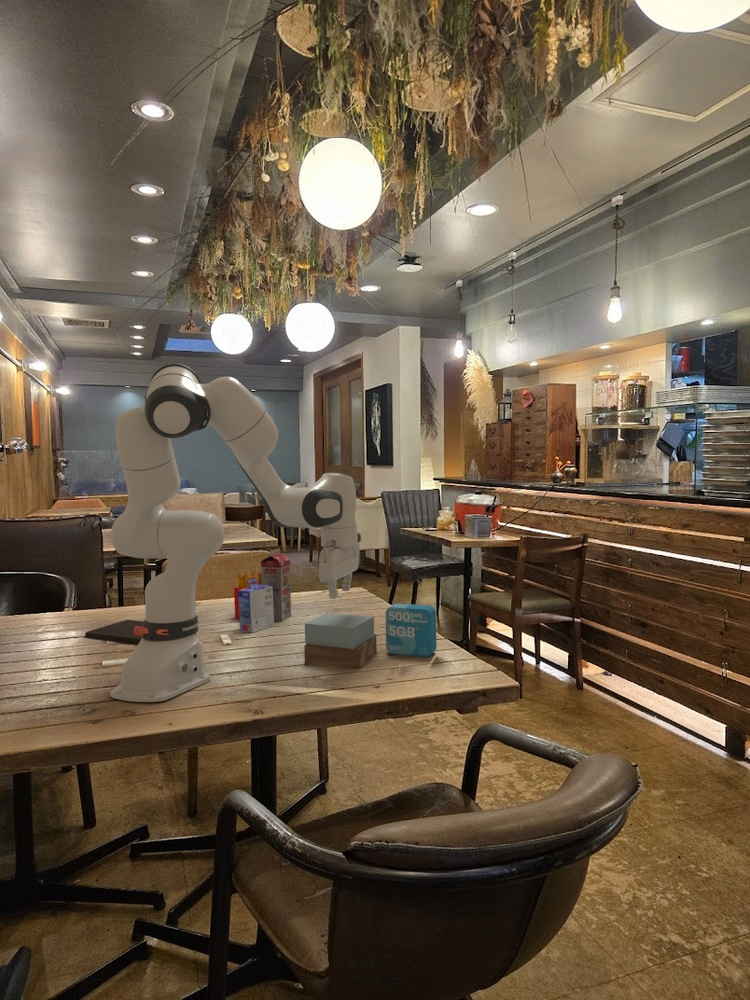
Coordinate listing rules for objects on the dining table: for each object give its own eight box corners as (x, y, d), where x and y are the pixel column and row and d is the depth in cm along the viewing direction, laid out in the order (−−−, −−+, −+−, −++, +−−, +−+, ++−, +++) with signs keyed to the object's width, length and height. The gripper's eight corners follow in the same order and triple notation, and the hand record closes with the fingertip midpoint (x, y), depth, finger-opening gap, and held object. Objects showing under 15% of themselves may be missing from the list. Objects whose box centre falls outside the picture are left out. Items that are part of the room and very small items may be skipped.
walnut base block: (360, 670, 152) (359, 649, 152) (304, 666, 156) (304, 645, 156) (376, 653, 166) (376, 634, 166) (325, 650, 170) (324, 631, 169)
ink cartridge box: (261, 623, 197) (260, 576, 196) (275, 626, 194) (273, 578, 193) (237, 631, 189) (236, 581, 188) (251, 633, 186) (250, 583, 185)
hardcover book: (127, 627, 199) (127, 619, 199) (187, 633, 189) (187, 625, 189) (85, 640, 184) (84, 632, 184) (147, 648, 175) (147, 639, 175)
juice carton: (262, 621, 200) (260, 550, 199) (272, 616, 207) (270, 547, 205) (282, 622, 198) (280, 551, 197) (291, 617, 205) (289, 548, 203)
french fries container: (233, 619, 203) (232, 575, 202) (254, 613, 211) (253, 571, 210) (249, 622, 199) (248, 577, 198) (270, 616, 207) (269, 572, 206)
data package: (385, 653, 164) (385, 606, 163) (391, 648, 168) (391, 602, 167) (431, 657, 159) (431, 609, 159) (436, 652, 164) (436, 605, 163)
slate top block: (353, 649, 152) (352, 628, 152) (305, 643, 158) (304, 623, 157) (374, 636, 163) (373, 616, 163) (328, 631, 169) (327, 612, 168)
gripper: (337, 543, 149) (338, 603, 149) (363, 534, 168) (364, 587, 169) (311, 543, 150) (312, 602, 151) (340, 534, 170) (341, 586, 171)
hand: (340, 594), depth 160 cm, fingers open, 8 cm apart
